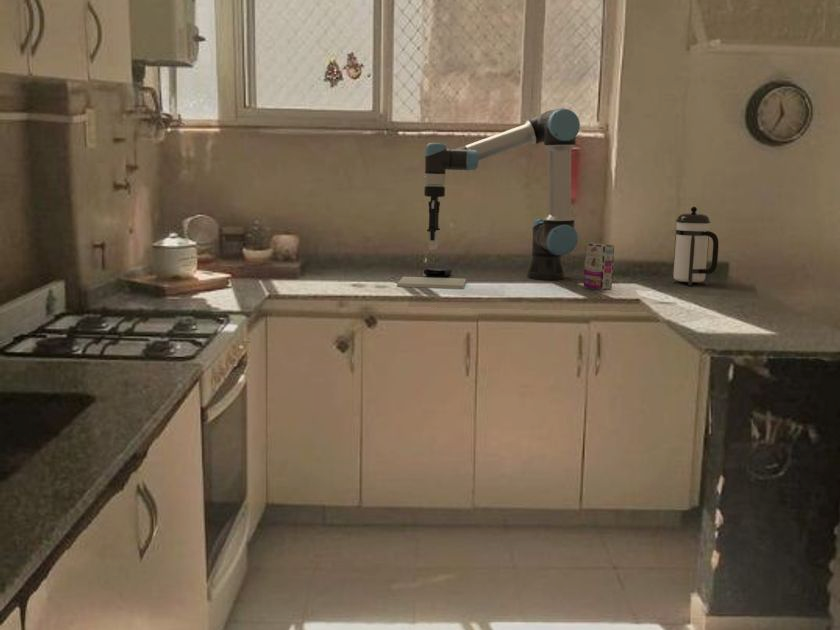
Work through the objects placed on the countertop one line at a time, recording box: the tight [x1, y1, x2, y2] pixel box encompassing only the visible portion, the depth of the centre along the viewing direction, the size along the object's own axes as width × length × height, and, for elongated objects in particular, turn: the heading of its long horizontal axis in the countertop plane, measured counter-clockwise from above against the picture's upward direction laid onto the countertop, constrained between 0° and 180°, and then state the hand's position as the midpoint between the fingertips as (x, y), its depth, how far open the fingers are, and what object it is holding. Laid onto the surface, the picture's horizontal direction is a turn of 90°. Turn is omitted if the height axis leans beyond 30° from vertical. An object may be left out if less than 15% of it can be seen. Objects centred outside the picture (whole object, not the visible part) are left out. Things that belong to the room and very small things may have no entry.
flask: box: [423, 267, 453, 278], centre depth 362 cm, size 9×3×11 cm
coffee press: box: [668, 206, 719, 287], centre depth 353 cm, size 17×16×30 cm
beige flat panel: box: [396, 276, 467, 290], centre depth 339 cm, size 24×20×1 cm
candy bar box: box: [582, 242, 615, 291], centre depth 337 cm, size 11×5×16 cm, turn 27°
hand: (433, 248), depth 340 cm, fingers open, 6 cm apart
